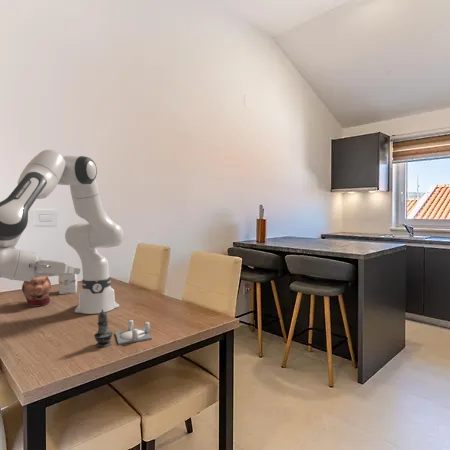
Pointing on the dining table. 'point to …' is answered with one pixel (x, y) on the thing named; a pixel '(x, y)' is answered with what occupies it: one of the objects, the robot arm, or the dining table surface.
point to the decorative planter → (37, 291)
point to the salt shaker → (103, 331)
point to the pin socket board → (123, 341)
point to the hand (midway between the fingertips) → (75, 272)
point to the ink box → (67, 284)
